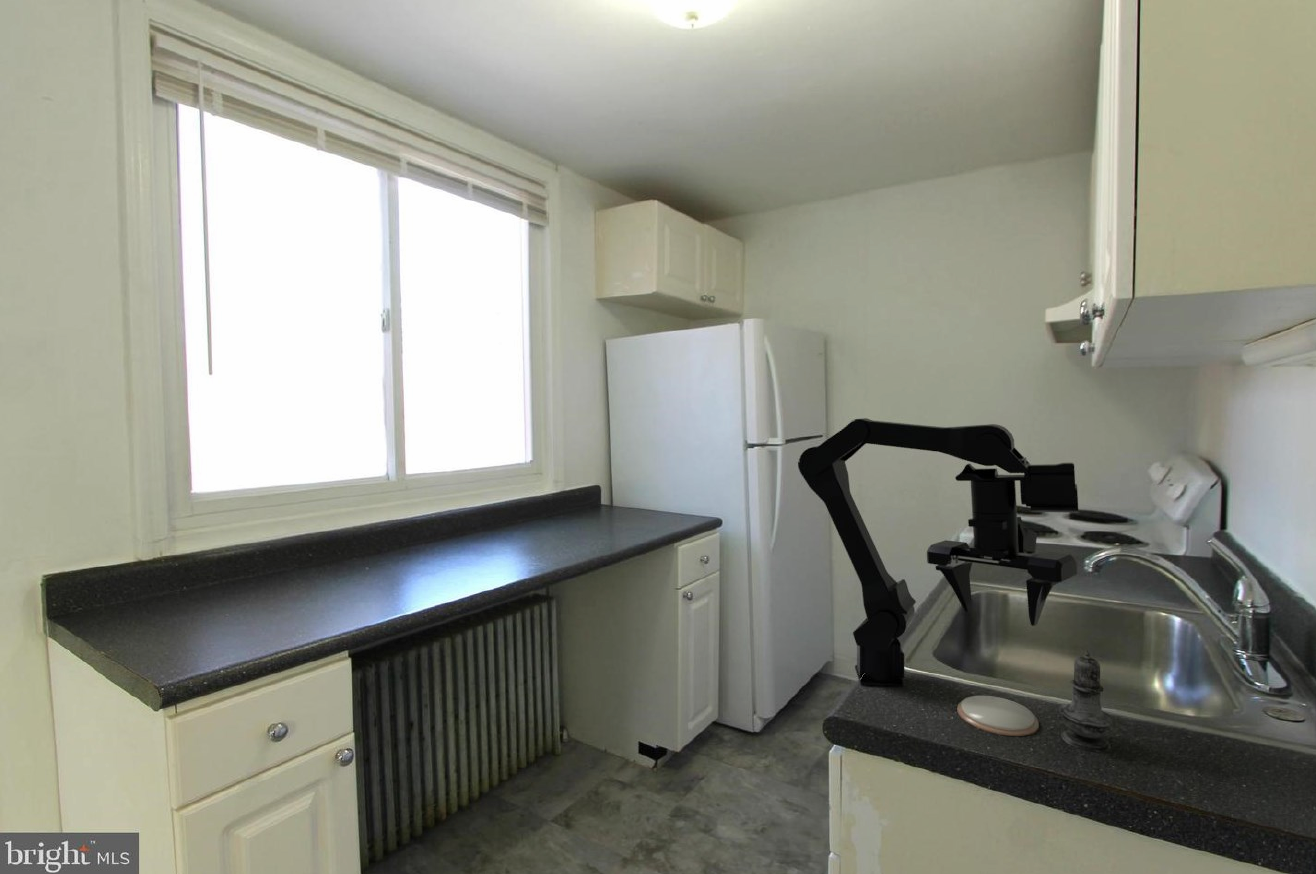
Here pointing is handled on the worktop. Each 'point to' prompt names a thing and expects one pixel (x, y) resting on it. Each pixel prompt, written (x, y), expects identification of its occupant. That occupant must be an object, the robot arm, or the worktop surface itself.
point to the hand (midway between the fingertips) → (1000, 618)
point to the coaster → (998, 715)
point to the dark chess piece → (1086, 709)
